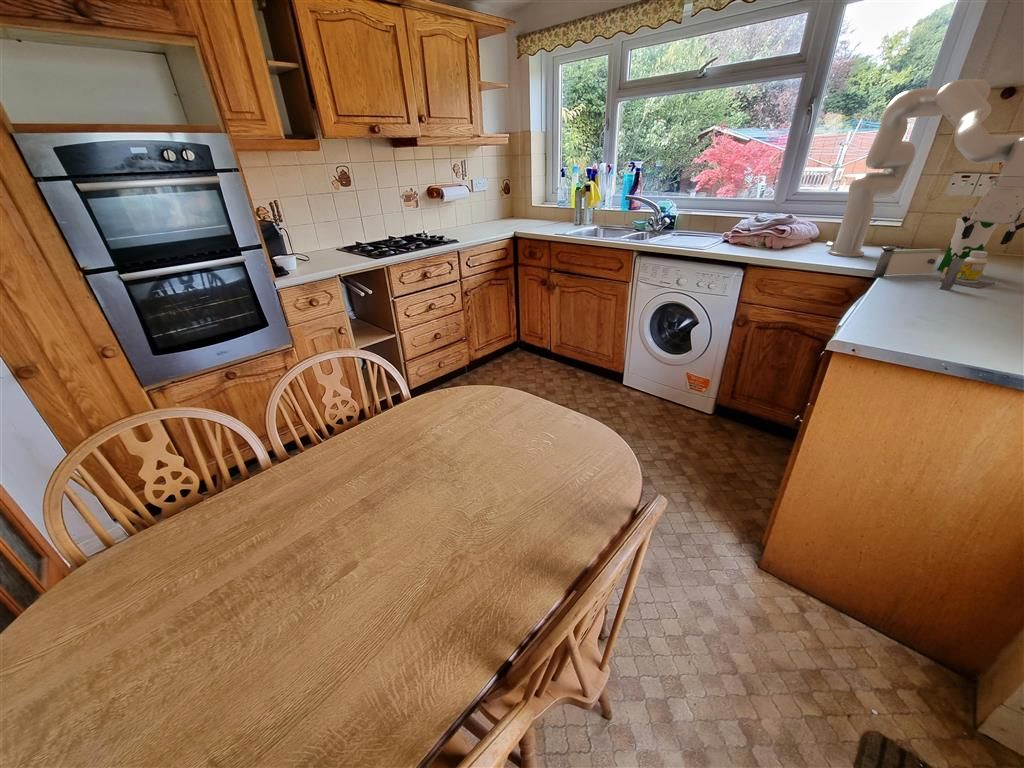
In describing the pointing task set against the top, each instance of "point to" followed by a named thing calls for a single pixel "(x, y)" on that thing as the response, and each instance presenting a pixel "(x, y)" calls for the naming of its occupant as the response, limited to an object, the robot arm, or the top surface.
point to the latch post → (951, 273)
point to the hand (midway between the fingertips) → (983, 241)
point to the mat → (975, 285)
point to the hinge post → (883, 261)
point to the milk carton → (967, 242)
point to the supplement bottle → (972, 267)
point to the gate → (912, 261)
